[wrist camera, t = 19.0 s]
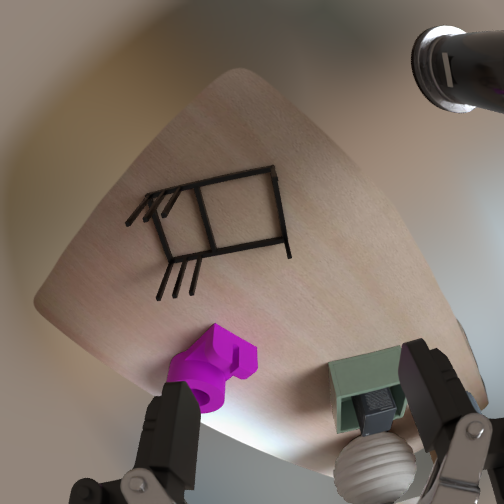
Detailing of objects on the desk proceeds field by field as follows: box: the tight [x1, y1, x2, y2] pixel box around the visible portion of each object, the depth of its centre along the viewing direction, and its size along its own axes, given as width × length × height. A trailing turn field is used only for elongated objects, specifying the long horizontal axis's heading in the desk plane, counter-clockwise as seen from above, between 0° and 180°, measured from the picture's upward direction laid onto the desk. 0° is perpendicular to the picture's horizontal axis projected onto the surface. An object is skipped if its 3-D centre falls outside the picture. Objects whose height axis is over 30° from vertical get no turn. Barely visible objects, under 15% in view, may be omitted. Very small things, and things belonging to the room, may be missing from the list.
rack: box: [125, 165, 292, 301], centre depth 36 cm, size 16×10×9 cm, turn 102°
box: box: [351, 387, 396, 437], centre depth 51 cm, size 8×6×11 cm
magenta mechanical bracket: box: [166, 323, 258, 413], centre depth 50 cm, size 16×10×6 cm, turn 140°
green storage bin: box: [328, 345, 407, 434], centre depth 53 cm, size 14×14×8 cm
